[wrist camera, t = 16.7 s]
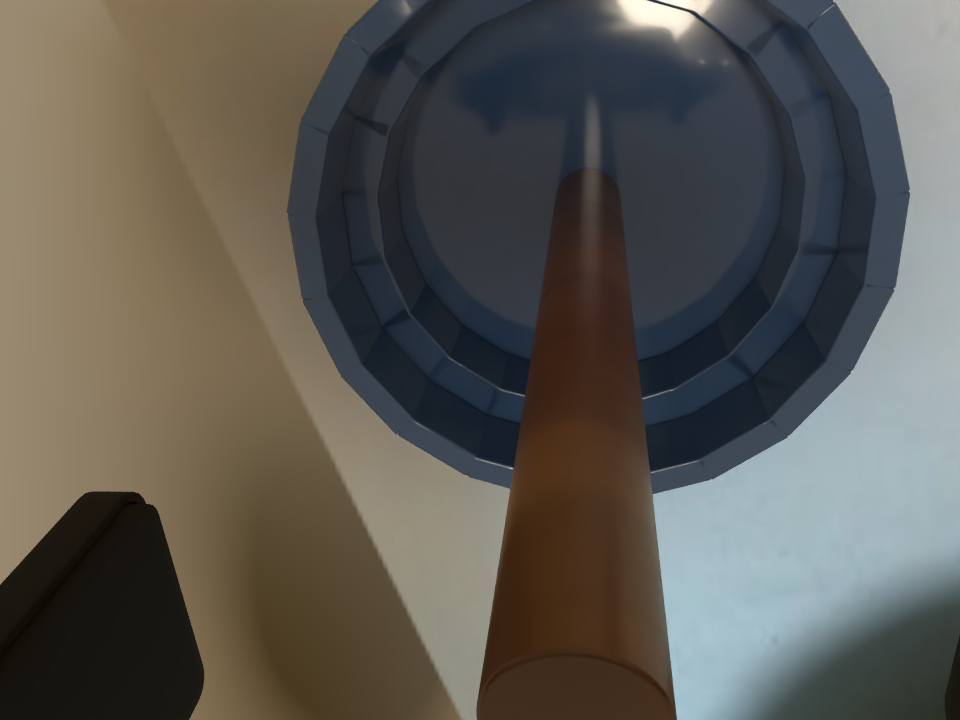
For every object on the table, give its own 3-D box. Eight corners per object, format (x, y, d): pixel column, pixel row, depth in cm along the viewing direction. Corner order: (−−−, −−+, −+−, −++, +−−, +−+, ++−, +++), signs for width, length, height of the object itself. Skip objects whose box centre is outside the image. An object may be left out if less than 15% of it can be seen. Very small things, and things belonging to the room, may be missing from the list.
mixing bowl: (379, 403, 31) (334, 496, 26) (315, -60, 25) (238, -64, 19) (812, 403, 29) (862, 504, 24) (873, -105, 22) (961, -124, 17)
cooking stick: (556, 231, 27) (482, 788, 9) (554, 169, 26) (468, 646, 8) (620, 229, 26) (673, 800, 9) (620, 166, 26) (681, 655, 8)
